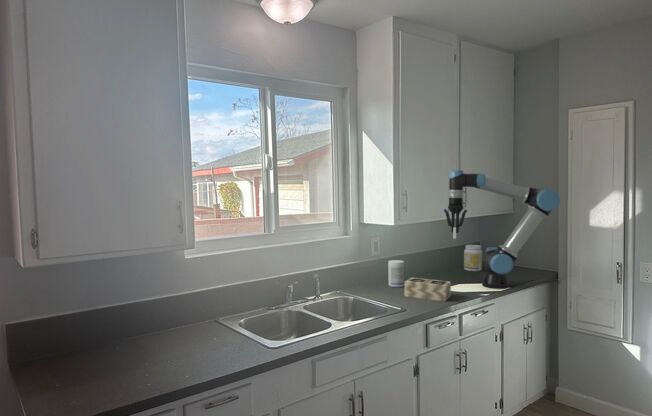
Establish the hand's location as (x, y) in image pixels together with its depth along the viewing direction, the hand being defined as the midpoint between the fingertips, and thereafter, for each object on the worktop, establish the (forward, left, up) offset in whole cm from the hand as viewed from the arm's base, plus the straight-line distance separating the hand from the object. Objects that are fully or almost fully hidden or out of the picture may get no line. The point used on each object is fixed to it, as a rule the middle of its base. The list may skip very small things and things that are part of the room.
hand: (454, 238), depth 265 cm
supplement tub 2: (+1, -63, -30) cm, 70 cm away
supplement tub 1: (+32, +8, -30) cm, 44 cm away
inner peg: (+4, +23, -29) cm, 37 cm away
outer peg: (+15, +23, -29) cm, 40 cm away
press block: (+9, +23, -29) cm, 38 cm away
